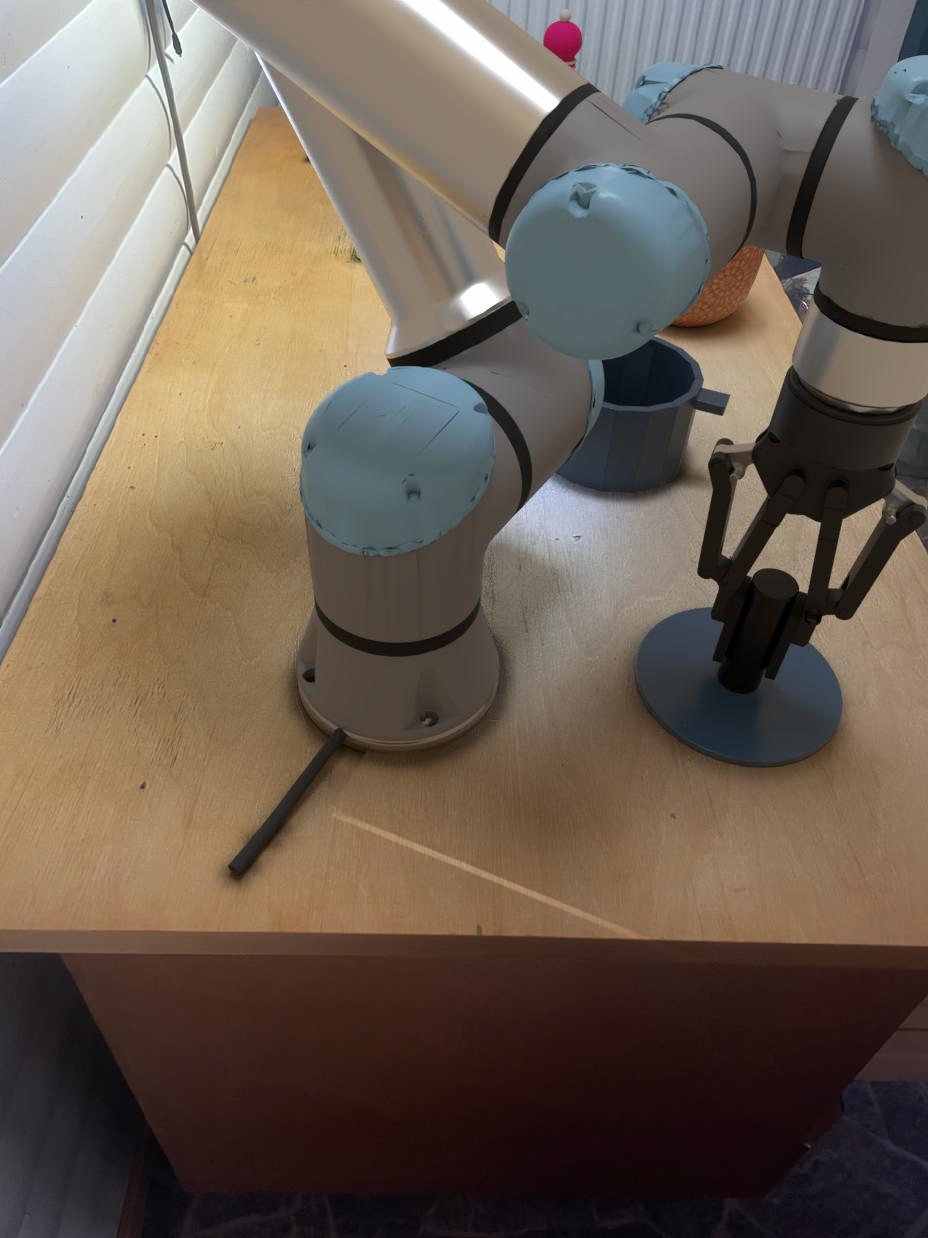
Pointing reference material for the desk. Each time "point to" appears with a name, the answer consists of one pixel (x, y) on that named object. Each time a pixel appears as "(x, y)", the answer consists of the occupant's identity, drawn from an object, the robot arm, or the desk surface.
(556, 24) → the pepper mill
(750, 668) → the pot lid
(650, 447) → the pot
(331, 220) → the desk surface
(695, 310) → the planter
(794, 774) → the desk surface
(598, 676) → the desk surface
